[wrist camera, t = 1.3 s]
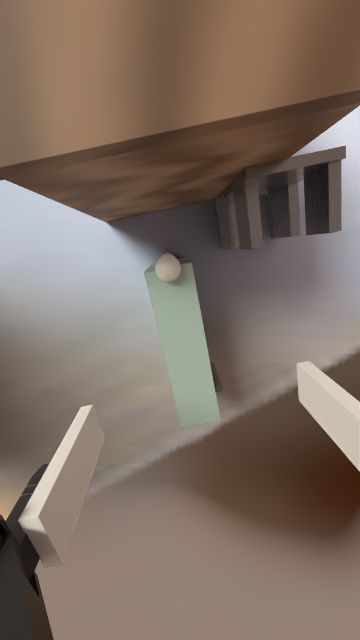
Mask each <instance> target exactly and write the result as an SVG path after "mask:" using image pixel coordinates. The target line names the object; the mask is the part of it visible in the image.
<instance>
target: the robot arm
mask: <svg viewBox="0 0 360 640" xmlns="http://www.w3.org/2000/svg"><path fill="white" fill-rule="evenodd" d="M297 377H298V393H299V401H300V402H301V403H302V404H303V406H304V407H305V408H306V409H307V410H308V411H309V413H310V414H311V415H312V416H313V417H314V419H315V420H316V421H317V422H318V423H319V424H320V425H321V427H322V428H323V429H324V430H325V431H326V433H327V434H328V435H329V436H330V437H331V438H332V440H333V441H334V442H335V443H336V444H337V445H338V446H339V448H340V449H341V450H342V451H343V452H344V454H345V455H346V456H347V457H348V458H349V460H350V461H351V462H352V463H353V464H354V465H355V466H356V468H357V469H358V470H359V471H360V402H359V401H358V400H356V399H355V398H354V397H353V396H351V395H350V394H349V393H348V392H346V391H345V390H344V389H343V388H341V387H340V386H339V385H338V384H336V383H335V382H334V381H333V380H331V379H330V378H329V377H328V376H327V375H325V374H324V373H323V372H322V371H320V370H319V369H318V368H317V367H315V366H314V365H313V364H312V363H311V362H309V361H306V362H301V363H297ZM104 441H105V437H104V434H103V431H102V429H101V426H100V423H99V420H98V418H97V415H96V412H95V409H94V407H93V405H88V406H83V407H81V408H80V410H79V412H78V413H77V415H76V417H75V419H74V421H73V422H72V424H71V426H70V428H69V430H68V431H67V433H66V435H65V437H64V439H63V440H62V442H61V444H60V446H59V448H58V449H57V451H56V453H55V455H54V457H53V458H52V460H51V462H50V464H46V465H42V466H41V467H40V468H39V469H38V471H37V472H36V473H35V474H34V475H33V476H32V478H31V480H30V481H29V483H28V485H27V487H26V488H25V490H24V491H23V493H22V496H21V497H20V498H19V500H18V501H17V503H16V505H15V506H14V508H13V510H12V511H11V513H10V515H9V516H8V518H7V520H6V521H5V520H4V519H3V517H2V515H0V640H54V639H53V635H52V631H51V627H50V624H49V620H48V616H47V612H46V608H45V604H44V600H43V596H42V592H41V588H40V584H39V581H38V576H37V574H36V573H35V568H36V566H37V563H38V561H39V559H40V560H41V562H42V564H43V566H44V567H45V568H47V567H52V566H58V565H63V564H64V561H65V558H66V555H67V552H68V549H69V546H70V543H71V540H72V537H73V534H74V531H75V528H76V525H77V522H78V519H79V516H80V513H81V510H82V507H83V504H84V501H85V498H86V495H87V492H88V489H89V486H90V483H91V480H92V477H93V474H94V471H95V468H96V465H97V462H98V459H99V456H100V453H101V450H102V447H103V444H104Z"/></svg>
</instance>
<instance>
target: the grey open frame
mask: <svg viewBox="0 0 360 640" xmlns="http://www.w3.org/2000/svg"><path fill="white" fill-rule="evenodd" d="M345 158H346V146H342V147H337V148H333V149H328V150H323V151H318V152H314V153H309V154H304V155H300V156H295V157H290V158H286V159H281V160H276V161H272V162H267V163H262V164H258V165H253V166H248V167H245V168H244V169H243V170H242V171H241V172H240V173H239V174H238V175H237V176H236V177H235V178H234V179H233V180H232V182H231V183H230V184H229V185H228V186H227V187H226V188H225V189H224V190H223V191H222V192H221V193H220V194H219V195H218V196H217V197H216V198H215V203H216V210H217V217H218V224H219V231H220V238H221V245H222V249H234V248H239V247H240V249H256V248H261V247H264V245H263V235H262V224H261V213H260V202H259V197H260V196H264V195H268V197H269V209H270V221H271V233H272V238H281V237H291V236H296V235H300V225H299V204H298V184H297V182H299V181H301V180H303V179H304V195H305V218H306V235H313V234H324V233H332V232H337V231H341V160H343V159H345Z"/></svg>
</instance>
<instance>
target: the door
mask: <svg viewBox="0 0 360 640" xmlns="http://www.w3.org/2000/svg"><path fill="white" fill-rule="evenodd" d="M144 274H145V278H146V282H147V286H148V290H149V294H150V298H151V303H152V307H153V311H154V315H155V319H156V323H157V327H158V331H159V335H160V340H161V344H162V348H163V352H164V356H165V360H166V364H167V368H168V373H169V377H170V381H171V385H172V389H173V393H174V397H175V401H176V405H177V410H178V414H179V418H180V422H181V426H182V429H183V428H188V427H193V426H197V425H202V424H207V423H212V422H217V421H221V420H220V415H219V409H218V404H217V398H216V393H215V392H220V391H221V390H222V388H223V387H222V384H221V382H220V379H219V376H218V374H217V371H216V369H215V366H214V364H213V363H210V360H209V354H208V349H207V343H206V338H205V332H204V327H203V321H202V316H201V310H200V305H199V299H198V294H197V288H196V283H195V277H194V272H193V266H192V262H190V261H188V260H187V259H185V258H183V257H181V258H176V257H175V256H174V255H173V254H172V253H169V252H166V253H164V254H162V255H161V257H160V258H159V259H158V261H157V262H156V263H153V264H152V265H151V266H150V267H149V268H148V269H147V270H146V271H145V272H144Z"/></svg>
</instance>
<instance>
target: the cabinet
mask: <svg viewBox="0 0 360 640" xmlns="http://www.w3.org/2000/svg"><path fill="white" fill-rule="evenodd" d="M359 105H360V0H0V180H4V179H5V180H7V181H9V182H12V183H14V184H17V185H19V186H21V187H24V188H26V189H28V190H31V191H33V192H36V193H38V194H40V195H43V196H45V197H47V198H50V199H52V200H55V201H57V202H59V203H62V204H64V205H66V206H69V207H71V208H74V209H76V210H78V211H81V212H83V213H85V214H88V215H90V216H93V217H95V218H97V219H100V220H102V221H104V222H108V221H113V220H117V219H122V218H127V217H132V216H136V215H141V214H146V213H150V212H155V211H160V210H164V209H169V208H174V207H179V206H183V205H188V204H193V203H197V202H202V201H207V200H211V199H215V198H216V197H217V196H218V195H219V194H220V193H221V192H222V191H223V190H224V189H225V188H226V187H227V186H228V185H229V184H230V183H231V182H232V180H233V179H234V178H235V177H236V176H237V175H238V174H239V173H240V172H241V171H242V170H243V169H244V168H245V167H248V166H253V165H258V164H262V163H267V162H272V161H276V160H281V159H286V158H289V157H291V156H292V155H293V154H295V153H296V152H297V151H299V150H300V149H301V148H303V147H304V146H306V145H307V144H308V143H310V142H311V141H312V140H314V139H315V138H316V137H318V136H319V135H320V134H322V133H323V132H324V131H326V130H327V129H328V128H330V127H331V126H332V125H334V124H335V123H337V122H338V121H339V120H341V119H342V118H343V117H345V116H346V115H347V114H349V113H350V112H351V111H353V110H354V109H355V108H357V107H358V106H359Z"/></svg>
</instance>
